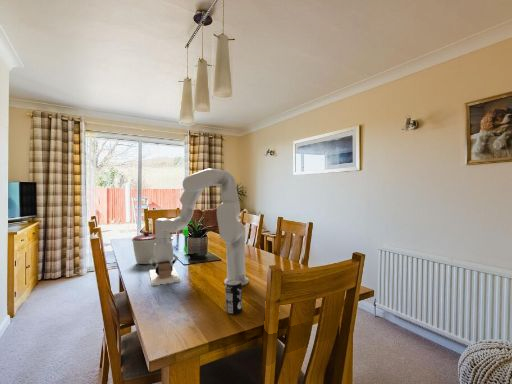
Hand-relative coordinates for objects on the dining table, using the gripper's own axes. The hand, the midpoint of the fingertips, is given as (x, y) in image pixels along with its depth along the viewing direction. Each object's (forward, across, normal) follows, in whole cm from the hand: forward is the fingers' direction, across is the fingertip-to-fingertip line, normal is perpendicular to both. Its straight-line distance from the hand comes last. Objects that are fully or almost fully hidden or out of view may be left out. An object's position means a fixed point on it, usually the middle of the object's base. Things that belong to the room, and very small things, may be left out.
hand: (164, 273), depth 150 cm
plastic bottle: (+3, -23, -45) cm, 51 cm away
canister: (+3, +7, -37) cm, 38 cm away
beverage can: (+3, -20, +55) cm, 59 cm away
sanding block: (+1, 0, 0) cm, 1 cm away
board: (+3, 0, -2) cm, 4 cm away
